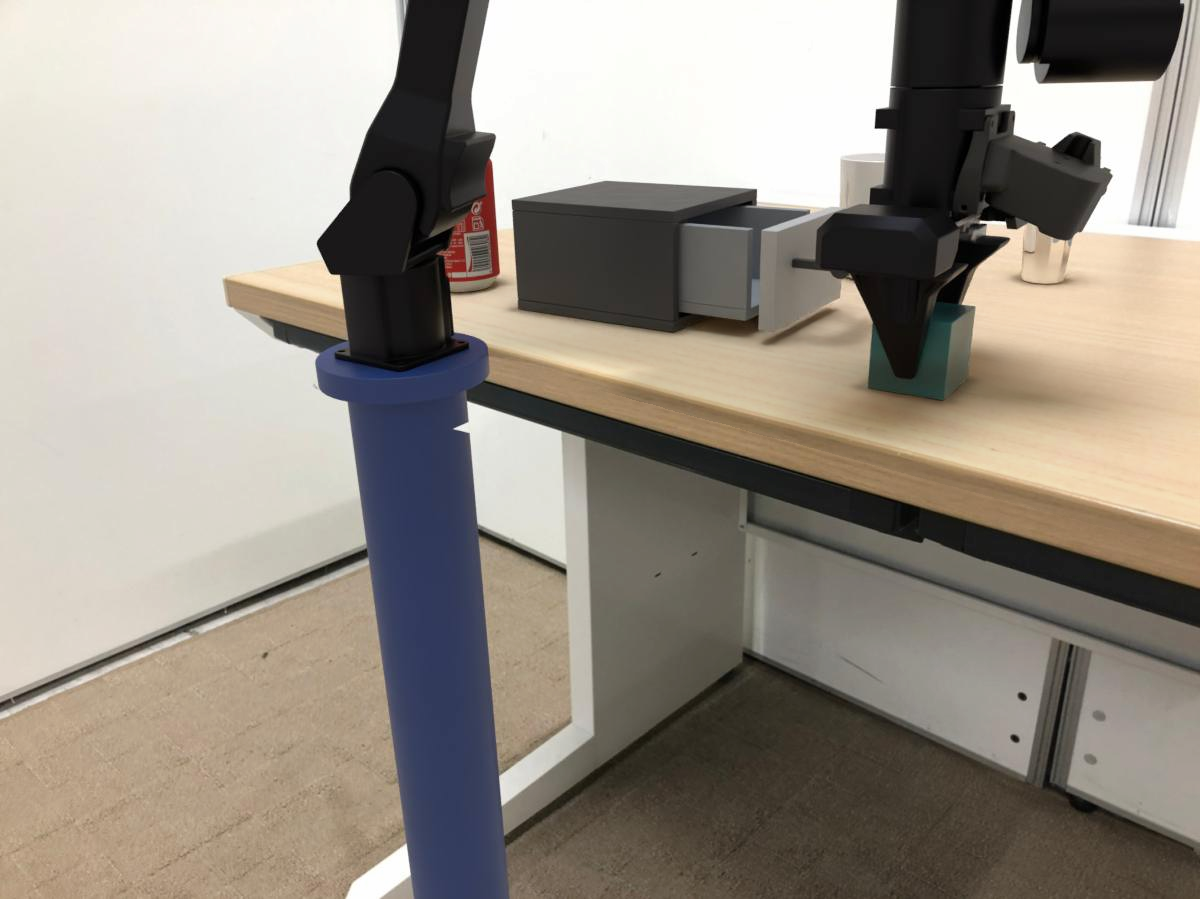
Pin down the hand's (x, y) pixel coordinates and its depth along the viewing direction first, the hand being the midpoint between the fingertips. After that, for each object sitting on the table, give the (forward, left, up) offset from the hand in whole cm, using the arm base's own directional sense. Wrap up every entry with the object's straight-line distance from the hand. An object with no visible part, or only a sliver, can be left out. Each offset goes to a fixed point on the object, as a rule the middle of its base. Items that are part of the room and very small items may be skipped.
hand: (918, 367), depth 58 cm
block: (0, 0, -1) cm, 1 cm away
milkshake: (+32, 0, -1) cm, 32 cm away
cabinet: (+9, +26, -1) cm, 28 cm away
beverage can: (+7, +43, -1) cm, 44 cm away
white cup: (+28, +13, -1) cm, 31 cm away
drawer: (+9, +16, 0) cm, 18 cm away
